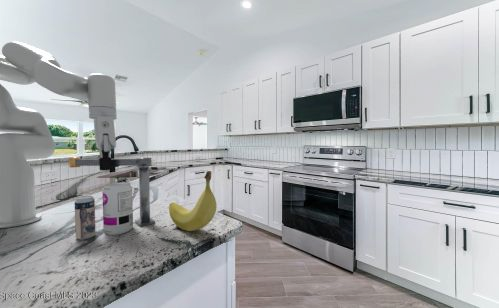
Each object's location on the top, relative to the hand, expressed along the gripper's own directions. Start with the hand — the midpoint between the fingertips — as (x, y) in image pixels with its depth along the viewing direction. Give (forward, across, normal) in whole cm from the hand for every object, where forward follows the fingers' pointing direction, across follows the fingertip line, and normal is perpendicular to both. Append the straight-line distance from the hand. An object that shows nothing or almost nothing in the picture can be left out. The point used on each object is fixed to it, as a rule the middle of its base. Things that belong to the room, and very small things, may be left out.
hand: (105, 169), depth 73 cm
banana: (+20, -19, -21) cm, 34 cm away
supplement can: (+20, -5, -2) cm, 20 cm away
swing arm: (-1, +3, -2) cm, 4 cm away
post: (+20, -3, -11) cm, 22 cm away
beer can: (+20, -5, +6) cm, 21 cm away
